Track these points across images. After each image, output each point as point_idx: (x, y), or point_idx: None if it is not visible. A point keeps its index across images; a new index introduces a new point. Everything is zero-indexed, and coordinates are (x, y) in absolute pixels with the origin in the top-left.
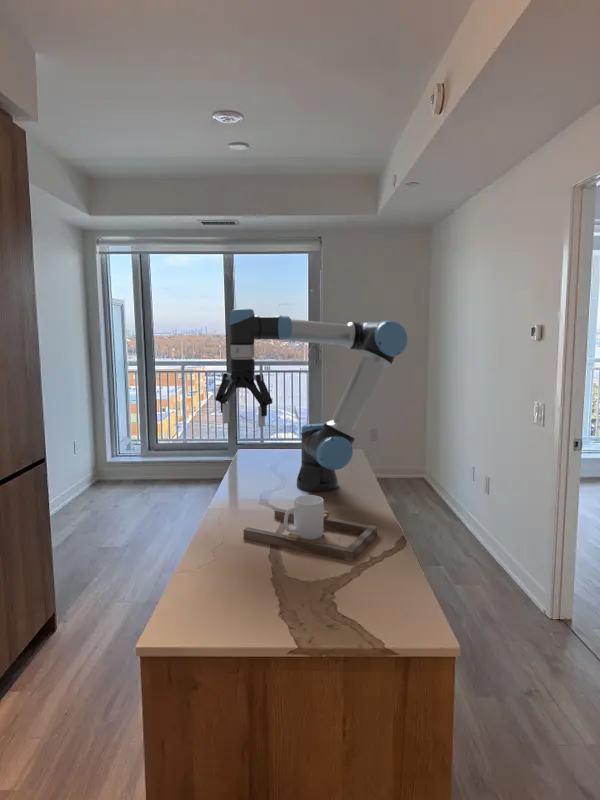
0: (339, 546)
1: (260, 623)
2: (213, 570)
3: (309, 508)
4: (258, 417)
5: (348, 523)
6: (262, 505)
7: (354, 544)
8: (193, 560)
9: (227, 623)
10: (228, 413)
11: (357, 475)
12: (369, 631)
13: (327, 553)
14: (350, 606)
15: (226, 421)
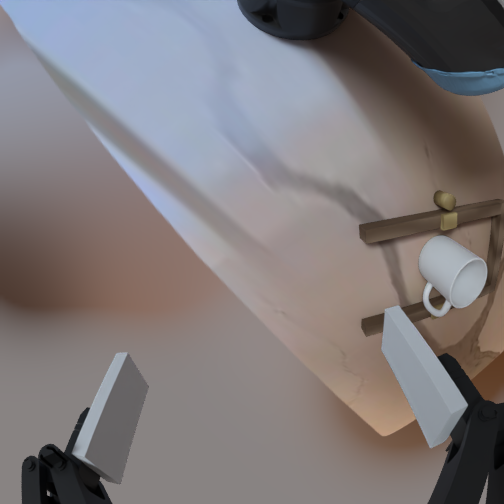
0: (484, 289)
1: None
2: (375, 387)
3: (470, 297)
4: (403, 389)
5: (482, 216)
6: (286, 190)
7: (495, 273)
8: (342, 391)
9: None
10: (114, 401)
11: None
12: (494, 351)
13: None
14: (487, 341)
15: (139, 382)
